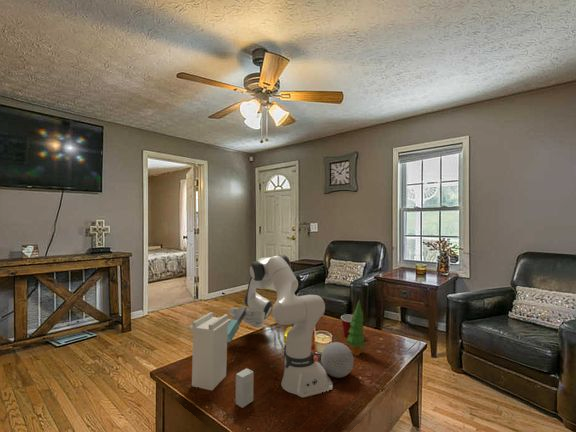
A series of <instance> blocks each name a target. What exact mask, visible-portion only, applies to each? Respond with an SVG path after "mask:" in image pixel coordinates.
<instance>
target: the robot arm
mask: <svg viewBox="0 0 576 432" xmlns="http://www.w3.org/2000/svg"><path fill="white" fill-rule="evenodd" d="M291 267H292V265H291V261H290V258H289V257H288V256H287V255H285V254H279V255H274V256H270V257H260V258H258V260H255V261H253V262H251V263H250V266H249V273H250V274H249V275H250V279H249V282H248V285H247V290H246V293H245V294H246V295H245V297H244V299H243V300H244V305H245V307H246V308H247V307H248V308H247V310H245V312H244V313H246V315H245V316H244V318H243V320H242V321H243V322H244V323H246V324H247V325H250V326H251V327H253V328H261V327H262V326H263V325H264V324H265V322H266V319H268V318H269V316H270V315H272V318H273V319H274V322H275V323H276V324H277V325H280V326H281V325H282V326H283V325H284V326H286V325H288V326H289V325H293V326H291V327H292V329H291V330H290V331H289V332H288V333H287V336H286V342H285V344H286V345H285V351H284V358H283V359H284V360H283V362H284V370H283V371H284V372H283V377H282V380H281V384H280V385H281V387H282V389H283V390H284V391H286V392H288V393H290V394H293V395H297V397H299V398H306V397H312V396H314V395H318V394H322V392H323V393H326V391H327V392H330V391H329V390H331V391H332V390H333V388H334V387H333V386H334V385H333V381H332V380H331V378H330V377H329V376H328V373H327V372H326V371H325V369H324V367H323V366H322V363H320V362H318V361H319V356H317V355H316V354H315V352H313V351H312V340H313V339H312V338H313V333H314V329H315V328H316V325H317V323H318V321H319V320H320V319H321V317H322V316H323V315H324V314H325V310H326V304H325V301H324V299H323V298H322V297H321V296H320V295H317V294H305V295H304V294H303V295H298V296H297V295H296V293H295V292H296V291H297V290H298V288H299V281H298V279H297V278H296V276H295V273H294V272H293V269H292V268H291ZM272 285H273V287H274V289H275V292H276V301H275V302H274V304H273V303H272V301H271V300H269V299H268V298H266V297H264V296H262V295H260V294H259V293H257V289H259V290H265V289H268V288H269V287H271V286H272ZM238 309H239V308H238V307H237V308H236V307H230V308H229V310H228V311H229V312H228V315H231V316H232V317H234V315H235V314H236V312H237V311H238ZM271 313H272V314H271Z"/></svg>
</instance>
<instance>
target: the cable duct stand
mask: <svg viewBox="0 0 576 432" xmlns="http://www.w3.org/2000/svg"><path fill="white" fill-rule="evenodd" d="M231 319H232V318H229V314H227V313H226V314H223V315H222V316H220V317H215V316H214V312H212V311H211V312H208V313H206V314H205V315H203V316H201V317H200V318H198V319H196V320H194V321H193V322H192V325H189V332H191V333H192V360H191V361H192V362H191V363H192V365H191V366H192V369H191V387H195V388H198V387H199V389H203V390H207V391H213V390H214V389H215V388H216V387H217V386H218V385H219V384H220V383H221V382H222V381H223V380H224V379H225V378H226V377H227V363H228V362H227V356H228V342H227V326H228V325H229V324H230V322H231Z"/></svg>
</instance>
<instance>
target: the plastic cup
mask: <svg viewBox="0 0 576 432" xmlns="http://www.w3.org/2000/svg"><path fill="white" fill-rule="evenodd" d="M352 317H353V314H343V315H341V316H340V319H341V322H342V329H343V336H344V337H345V338H346V339H347V338H348V336H349V334H350V332H348V331H349V329H350V327H351V325H350V323H351V321H352Z"/></svg>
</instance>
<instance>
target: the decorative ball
mask: <svg viewBox="0 0 576 432" xmlns="http://www.w3.org/2000/svg"><path fill="white" fill-rule="evenodd" d="M320 357H321V358H320V359H321V360H320V362H321V365H322V366H323V367H324V369H325V371H326V373H327V375H330V376H331V377H332V378H337V379H339V378H344V377H346V376H348V374H350V373H351V371H352V370H353V367H354V363H355V362H354V361H355V360H354V355H353V354H352V353H351V349H350V348H349V346H347V345H346V344H345V343H342V342H338V341H334V342H329V344H327V345H326V346H324V349H323V350H322V352H321V355H320Z"/></svg>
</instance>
